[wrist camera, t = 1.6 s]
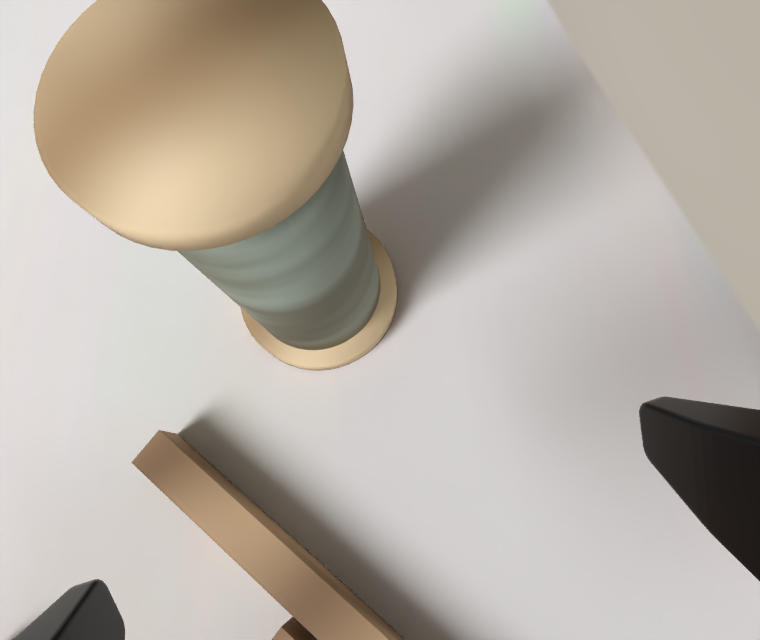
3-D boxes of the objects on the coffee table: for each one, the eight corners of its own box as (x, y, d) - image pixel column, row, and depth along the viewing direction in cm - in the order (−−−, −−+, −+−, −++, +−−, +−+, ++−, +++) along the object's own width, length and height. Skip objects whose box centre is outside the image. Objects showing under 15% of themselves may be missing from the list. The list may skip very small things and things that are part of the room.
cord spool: (428, 279, 23) (412, 41, 11) (331, 402, 22) (189, 294, 10) (312, 200, 25) (183, -85, 12) (217, 311, 24) (-28, 120, 11)
